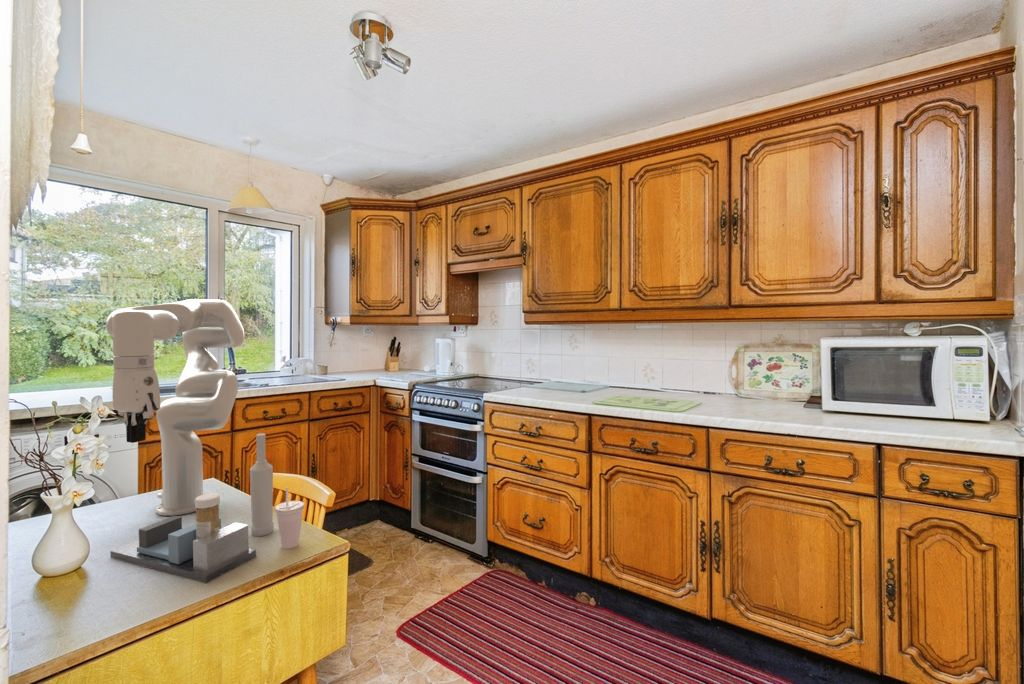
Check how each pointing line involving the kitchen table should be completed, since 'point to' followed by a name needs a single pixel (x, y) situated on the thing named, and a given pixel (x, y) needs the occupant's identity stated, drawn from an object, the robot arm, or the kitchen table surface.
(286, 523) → the smoothie
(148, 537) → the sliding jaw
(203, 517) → the spice jar
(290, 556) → the kitchen table surface
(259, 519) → the bottle
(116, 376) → the robot arm
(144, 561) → the clamp base
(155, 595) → the kitchen table surface
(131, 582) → the kitchen table surface
